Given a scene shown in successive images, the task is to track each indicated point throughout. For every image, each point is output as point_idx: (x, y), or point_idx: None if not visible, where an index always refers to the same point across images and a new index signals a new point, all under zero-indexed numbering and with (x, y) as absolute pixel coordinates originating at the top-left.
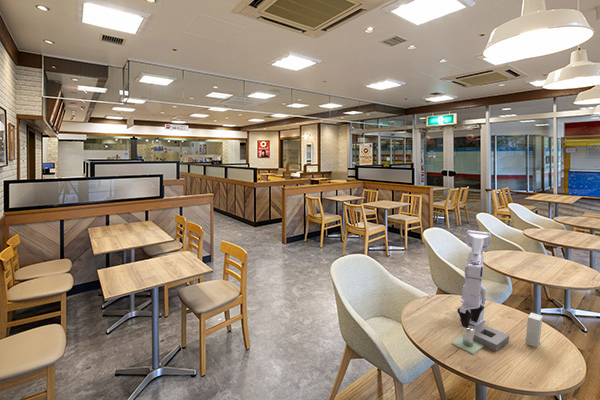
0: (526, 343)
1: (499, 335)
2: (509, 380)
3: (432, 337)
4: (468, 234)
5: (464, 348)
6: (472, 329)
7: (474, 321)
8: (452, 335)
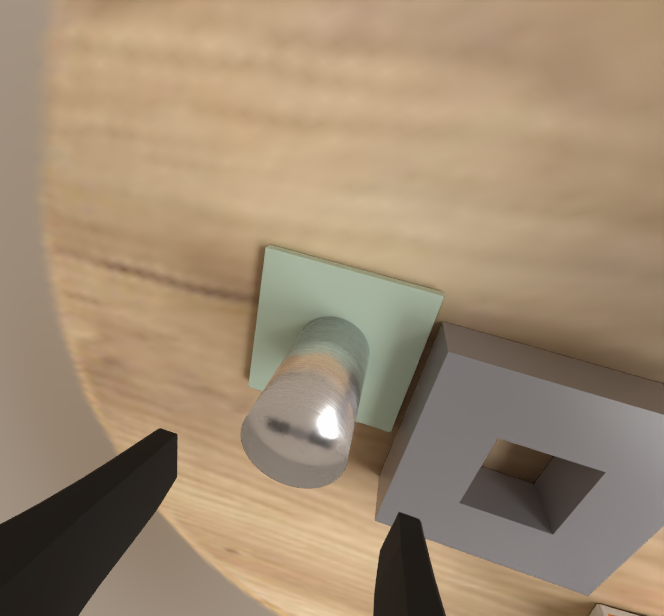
0: (597, 608)
1: (539, 547)
2: (183, 500)
3: (243, 68)
4: None
5: (258, 337)
6: (290, 473)
7: (385, 543)
8: (412, 216)
